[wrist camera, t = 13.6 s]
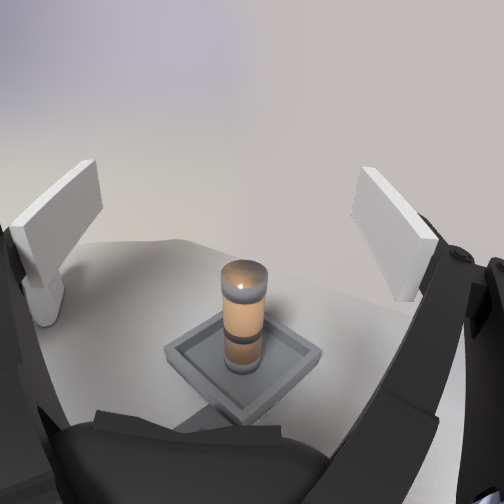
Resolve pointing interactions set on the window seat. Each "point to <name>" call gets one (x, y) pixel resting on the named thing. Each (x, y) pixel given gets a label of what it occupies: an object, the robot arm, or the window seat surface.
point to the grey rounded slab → (45, 300)
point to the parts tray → (242, 386)
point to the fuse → (243, 314)
